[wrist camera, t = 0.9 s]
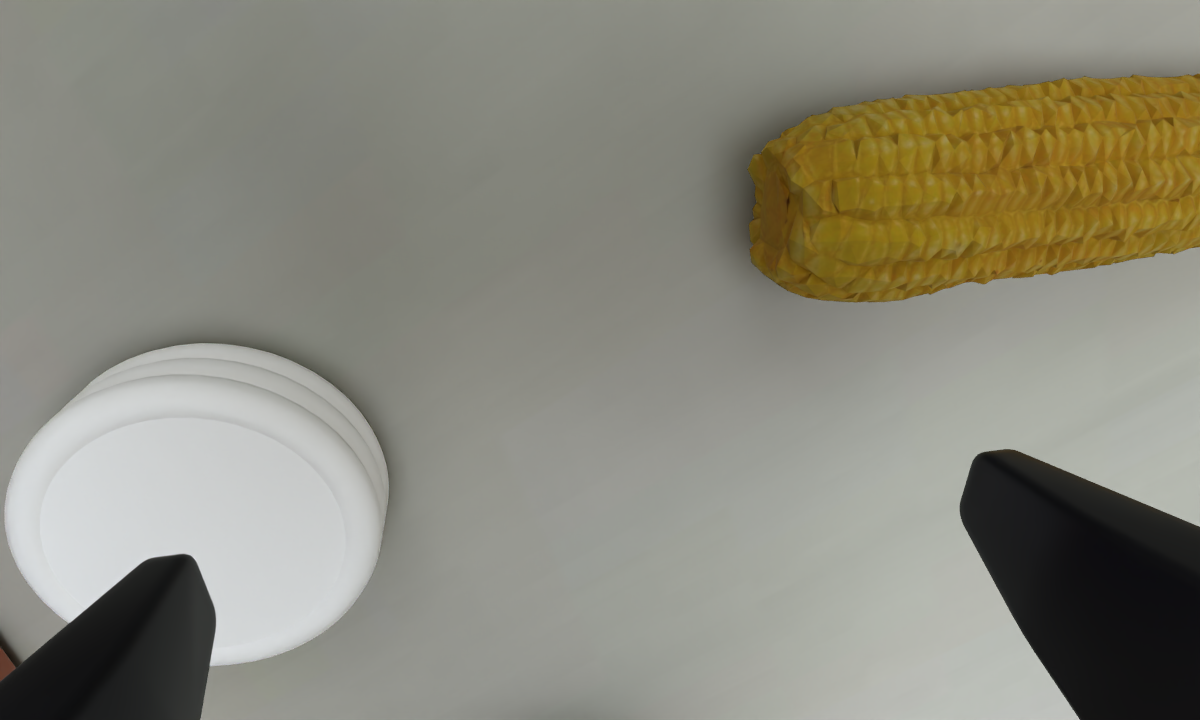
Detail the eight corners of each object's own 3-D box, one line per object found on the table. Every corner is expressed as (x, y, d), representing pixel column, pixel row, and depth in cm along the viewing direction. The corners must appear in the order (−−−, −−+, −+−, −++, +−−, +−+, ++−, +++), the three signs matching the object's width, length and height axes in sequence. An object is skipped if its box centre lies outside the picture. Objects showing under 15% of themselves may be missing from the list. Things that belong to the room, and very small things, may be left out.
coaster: (1, 514, 23) (-73, 590, 20) (160, 273, 21) (106, 314, 18) (289, 637, 27) (266, 717, 24) (448, 443, 25) (446, 502, 22)
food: (729, 281, 24) (804, 350, 19) (726, 103, 22) (811, 123, 16) (1282, 202, 27) (1490, 243, 21) (1333, 34, 24) (1580, 32, 19)
